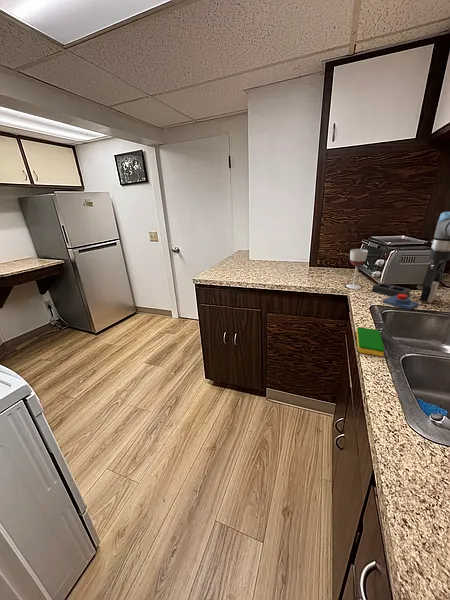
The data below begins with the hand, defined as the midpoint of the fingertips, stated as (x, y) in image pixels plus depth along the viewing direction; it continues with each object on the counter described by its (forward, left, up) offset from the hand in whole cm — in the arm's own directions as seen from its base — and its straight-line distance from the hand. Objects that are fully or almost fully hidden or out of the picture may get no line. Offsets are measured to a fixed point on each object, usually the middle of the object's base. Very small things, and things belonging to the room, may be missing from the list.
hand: (427, 297), depth 115 cm
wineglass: (+32, +6, -1) cm, 33 cm away
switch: (+6, +13, +1) cm, 14 cm away
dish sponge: (-1, +56, -1) cm, 56 cm away
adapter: (+15, +2, -1) cm, 15 cm away
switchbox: (+6, +13, -1) cm, 14 cm away
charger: (0, 0, -1) cm, 1 cm away
